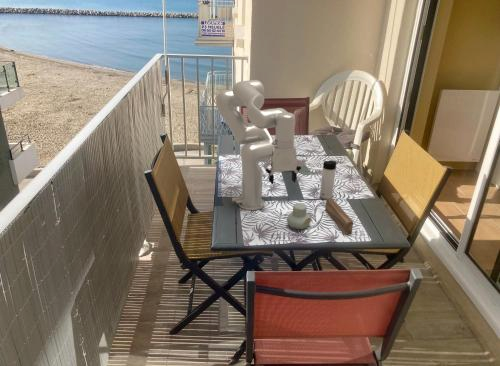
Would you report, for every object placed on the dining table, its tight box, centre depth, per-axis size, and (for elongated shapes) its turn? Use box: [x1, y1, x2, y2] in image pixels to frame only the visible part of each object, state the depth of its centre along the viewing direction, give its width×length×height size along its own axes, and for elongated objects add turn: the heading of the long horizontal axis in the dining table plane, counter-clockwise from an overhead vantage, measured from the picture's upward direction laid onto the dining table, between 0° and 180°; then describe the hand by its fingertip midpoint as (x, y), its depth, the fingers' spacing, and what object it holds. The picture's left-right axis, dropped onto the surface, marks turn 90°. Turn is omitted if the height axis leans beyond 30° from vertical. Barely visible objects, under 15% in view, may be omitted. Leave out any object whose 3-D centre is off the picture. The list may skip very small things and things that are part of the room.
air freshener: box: [286, 202, 312, 230], centre depth 183 cm, size 11×8×10 cm
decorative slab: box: [283, 163, 315, 176], centre depth 246 cm, size 26×24×2 cm
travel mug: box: [319, 160, 337, 201], centre depth 206 cm, size 6×7×20 cm
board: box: [325, 197, 354, 235], centre depth 188 cm, size 3×22×6 cm, turn 14°
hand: (282, 181), depth 175 cm, fingers open, 9 cm apart
